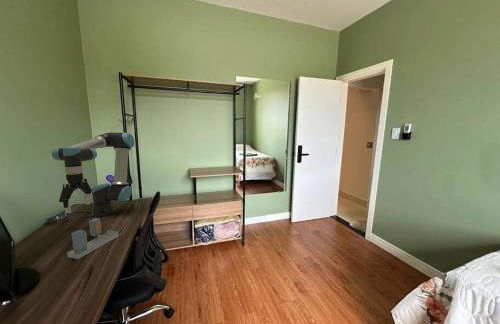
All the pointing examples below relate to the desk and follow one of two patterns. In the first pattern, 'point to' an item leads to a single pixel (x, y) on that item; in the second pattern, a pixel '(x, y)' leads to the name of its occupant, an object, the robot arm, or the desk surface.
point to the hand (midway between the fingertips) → (78, 208)
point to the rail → (89, 243)
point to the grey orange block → (95, 227)
